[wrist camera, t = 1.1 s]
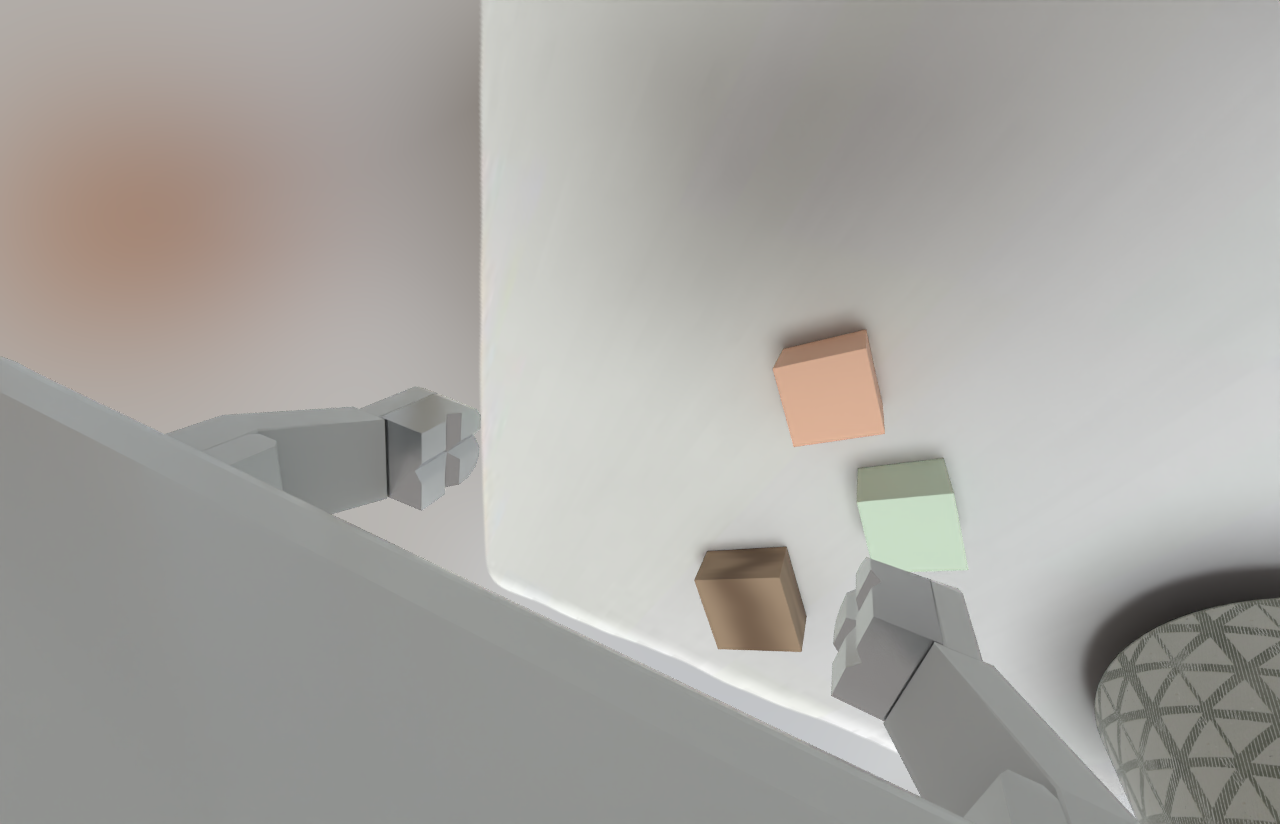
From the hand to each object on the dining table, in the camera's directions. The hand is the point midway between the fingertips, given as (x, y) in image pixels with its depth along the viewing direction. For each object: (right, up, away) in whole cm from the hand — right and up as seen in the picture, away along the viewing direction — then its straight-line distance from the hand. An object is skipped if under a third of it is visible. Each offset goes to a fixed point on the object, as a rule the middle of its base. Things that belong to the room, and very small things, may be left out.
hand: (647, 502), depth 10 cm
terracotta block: (+13, +4, +26) cm, 29 cm away
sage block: (+19, -4, +27) cm, 33 cm away
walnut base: (+10, -13, +34) cm, 38 cm away
